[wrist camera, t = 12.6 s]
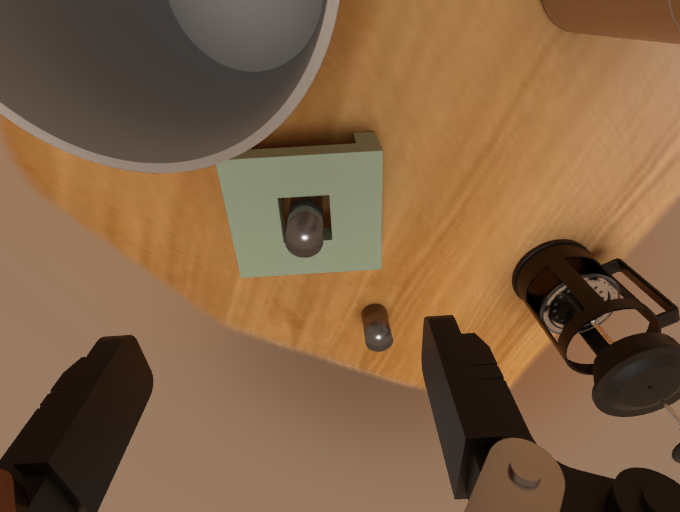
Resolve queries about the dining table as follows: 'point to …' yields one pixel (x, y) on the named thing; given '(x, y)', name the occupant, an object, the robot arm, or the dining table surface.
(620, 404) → the french press
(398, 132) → the dining table surface
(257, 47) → the cylinder vase
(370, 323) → the short pin
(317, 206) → the long pin
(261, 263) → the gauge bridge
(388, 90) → the dining table surface
